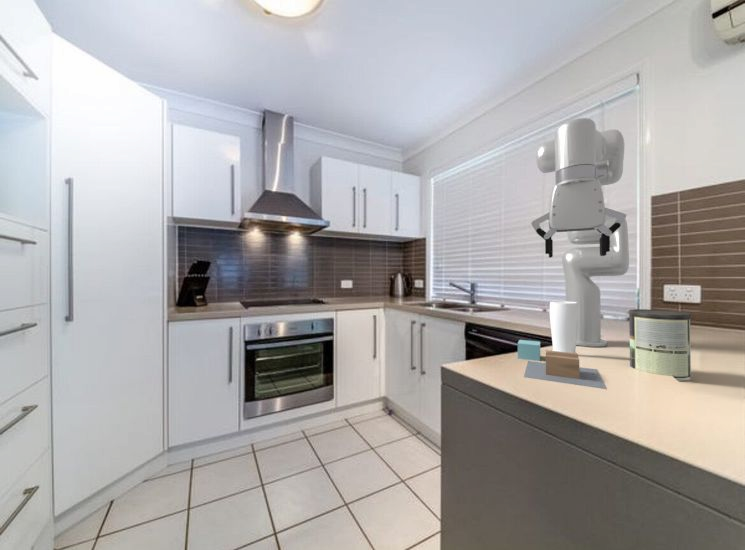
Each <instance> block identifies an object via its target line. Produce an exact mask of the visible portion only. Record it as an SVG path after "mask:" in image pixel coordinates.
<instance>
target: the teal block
mask: <svg viewBox="0 0 745 550" xmlns="http://www.w3.org/2000/svg"><path fill="white" fill-rule="evenodd" d="M517 359H519V360H527V361H534V362H541V341H537V340H536V341H534V340H525V339H519V340H518V342H517Z"/></svg>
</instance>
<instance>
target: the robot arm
mask: <svg viewBox="0 0 745 550" xmlns="http://www.w3.org/2000/svg"><path fill="white" fill-rule="evenodd" d="M596 126H597V125H596V123H595V121H594V120H593V119H591V118H587V117H581V118H575V119H571V120H568V121H565V122H564V123H562V124H561V125H560V126H559V127H558V128H557V129H556V132H555V135H554V136H555V137H554V139H553V140H549V141H545V142H543V143H541V144H540V145H539V146H538V148H537V150H536V156H535V159H536V166H537V168H538V169H539V171H540V172H541V173H543V174H547V173H554V172H555V178H554V179H555V185H554V186H553V187H552V188H551V191H550V196H549V204H548V205H549V206H548V207H549V208H548V210H549V211H548V212H547V213H546V214H544V215H541V216H540V217H538V218H536V219H534V220H531V224H530V225H531V226H532V227H533V229H534V231H535V232H536V234H537V235H538V236H540V237H541V238H542V239H543V240H544V242H545V248H544V249H545V255H548V258H553V255H554V253H553V252H554V251H553V247H554V245H553V241H554V240H553V239H552V238H553V236H554V235H555V234H556V233H567V239H568V241H569V242H570V243H571V244H572V245H576V246H577V245H581V246H582V245H599V246H586V247H584V246H583V247H574V248H570V249H567V250H566V251H565V252H564V253H563V255H562V258H561V262H562V269H563V274H564V281H565V282H564V284H565V287H564V288H565V301H566V302H577V303H578V328H577V339H576V346H580V347H594V348H595V347H596V348H598V347H599V348H600V347H606V346H607V345H608V341H607V340H605V339H602V337H601V336H602V335H601V334H602V333H601V331H602V330H601V327H602V323H601V322H602V320H601V290H600V288H599V286H598V285H597V284H596V283H595V282H594V280H592V277H621V276H624V275H625V274H627V273H628V272H629V271H628V270H629V267H630V253H629V252H630V249H629V229H628V221H627V220H626V218H627V214H626V213H624V212H620V211H618V210H614V209H611V208H609V207H605V202H604V200H605V199H604V194H603V193H604V192H603V189H602V188H603V187H602V186H610V185H612V184H613V185H614V184H616V183H618V182H619V181H620V180H621V178H622V175H623V170H624V160H625V159H624V158H625V139H624V138H625V137H624V136H623V133H622V132H621V131H619V130H618V129H609V130H608V129H607V130H602V131H600V132H599V130H598V129H597V127H596ZM547 221H548V228H549V229H548V230H547V232H546V231H545V230H543V229H542V227H541V224H543V223H545V222H547Z"/></svg>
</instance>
